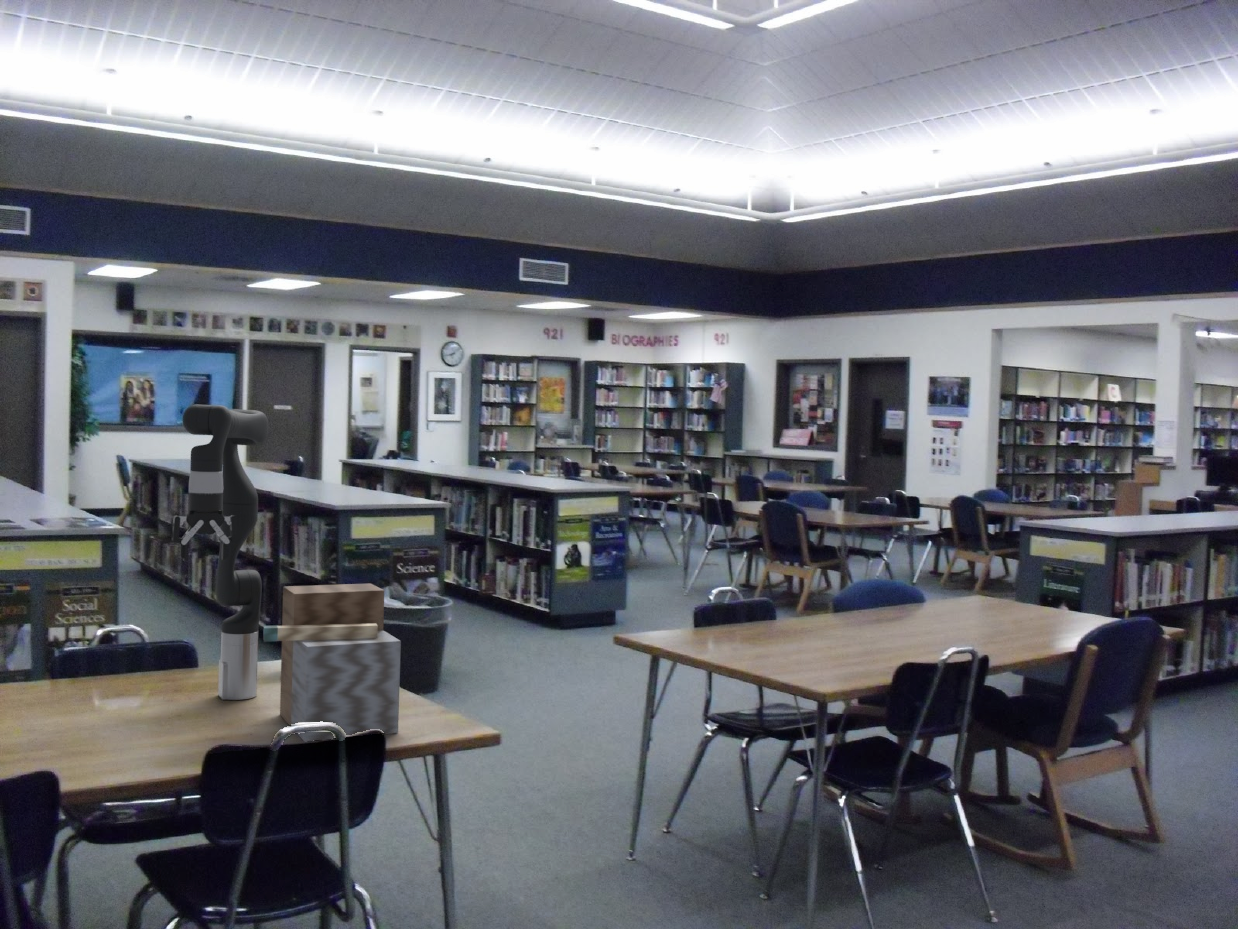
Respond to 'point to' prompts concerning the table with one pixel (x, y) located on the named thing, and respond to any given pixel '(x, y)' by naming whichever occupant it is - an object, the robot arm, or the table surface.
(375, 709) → the pedestal
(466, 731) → the table surface
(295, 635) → the beech bar
